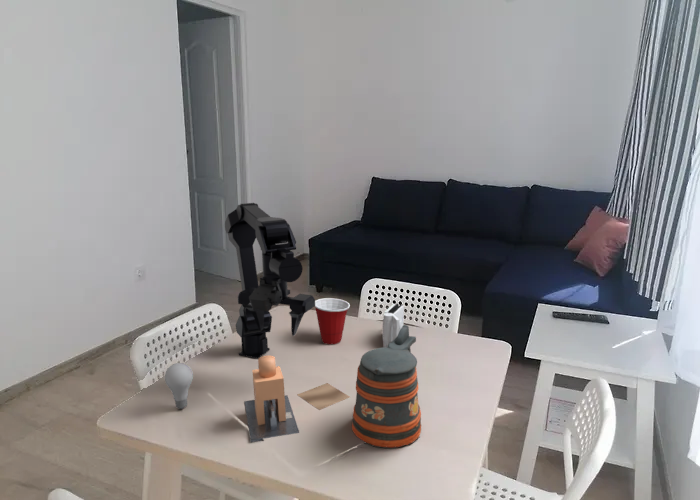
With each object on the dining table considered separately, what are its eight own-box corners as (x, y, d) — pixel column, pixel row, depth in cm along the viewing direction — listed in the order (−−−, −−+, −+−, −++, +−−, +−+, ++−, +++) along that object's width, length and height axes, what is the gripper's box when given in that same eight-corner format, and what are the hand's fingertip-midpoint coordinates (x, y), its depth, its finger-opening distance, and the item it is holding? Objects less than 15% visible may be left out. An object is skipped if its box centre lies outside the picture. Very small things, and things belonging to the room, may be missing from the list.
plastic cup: (350, 348, 152) (349, 309, 149) (312, 348, 152) (311, 309, 149) (350, 333, 163) (350, 296, 160) (315, 333, 163) (314, 296, 160)
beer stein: (372, 396, 125) (373, 317, 120) (433, 408, 120) (436, 325, 115) (341, 439, 108) (340, 349, 103) (410, 456, 103) (413, 361, 98)
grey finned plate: (244, 403, 122) (243, 383, 121) (287, 397, 125) (286, 377, 124) (250, 442, 107) (249, 420, 106) (299, 434, 110) (298, 412, 109)
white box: (399, 353, 148) (399, 320, 146) (380, 352, 149) (380, 319, 147) (404, 334, 162) (404, 303, 159) (386, 333, 163) (386, 302, 160)
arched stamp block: (255, 410, 118) (251, 355, 115) (282, 406, 119) (278, 351, 116) (258, 425, 112) (253, 367, 109) (286, 420, 114) (282, 363, 111)
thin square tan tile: (297, 396, 125) (296, 394, 125) (327, 384, 131) (327, 382, 131) (319, 411, 118) (319, 409, 118) (350, 398, 124) (350, 396, 124)
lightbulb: (170, 418, 116) (165, 372, 114) (165, 405, 122) (161, 361, 119) (198, 411, 119) (194, 366, 116) (192, 399, 124) (189, 356, 122)
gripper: (222, 276, 123) (226, 339, 126) (293, 285, 116) (295, 351, 119) (248, 264, 133) (251, 323, 136) (315, 272, 126) (316, 333, 129)
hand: (277, 332), depth 130 cm, fingers open, 9 cm apart
